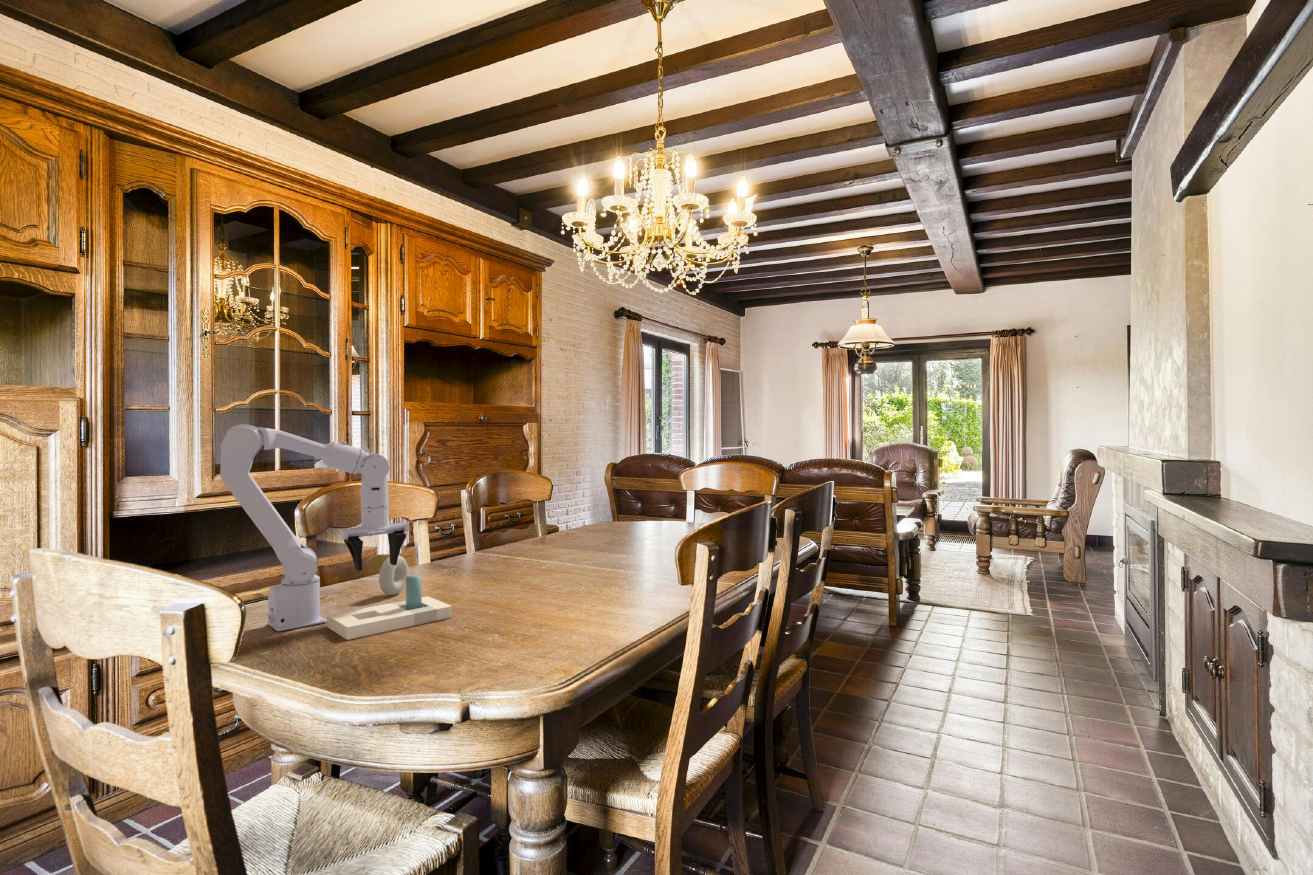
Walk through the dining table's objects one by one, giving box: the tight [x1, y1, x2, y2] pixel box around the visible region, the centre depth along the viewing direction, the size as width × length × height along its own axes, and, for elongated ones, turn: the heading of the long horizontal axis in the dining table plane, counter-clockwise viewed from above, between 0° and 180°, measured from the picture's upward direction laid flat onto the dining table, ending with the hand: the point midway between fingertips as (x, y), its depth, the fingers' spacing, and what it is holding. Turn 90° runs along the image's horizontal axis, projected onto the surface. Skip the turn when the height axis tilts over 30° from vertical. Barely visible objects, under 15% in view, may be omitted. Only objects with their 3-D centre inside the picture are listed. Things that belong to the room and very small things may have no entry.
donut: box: [378, 554, 409, 596], centre depth 164 cm, size 10×4×10 cm, turn 170°
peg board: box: [326, 596, 453, 641], centre depth 140 cm, size 22×12×2 cm, turn 134°
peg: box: [405, 574, 423, 610], centre depth 143 cm, size 3×3×9 cm
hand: (376, 567), depth 147 cm, fingers open, 7 cm apart
